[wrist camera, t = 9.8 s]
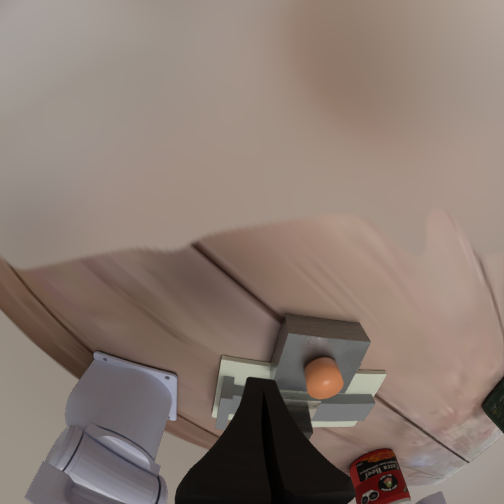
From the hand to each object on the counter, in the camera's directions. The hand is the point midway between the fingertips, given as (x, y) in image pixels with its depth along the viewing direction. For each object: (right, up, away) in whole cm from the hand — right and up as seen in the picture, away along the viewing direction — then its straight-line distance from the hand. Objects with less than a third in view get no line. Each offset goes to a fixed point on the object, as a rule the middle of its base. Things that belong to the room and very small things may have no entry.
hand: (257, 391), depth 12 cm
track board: (+5, -8, +13) cm, 16 cm away
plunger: (+5, -3, +8) cm, 10 cm away
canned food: (+19, -26, +19) cm, 38 cm away
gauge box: (+5, -2, +11) cm, 13 cm away
